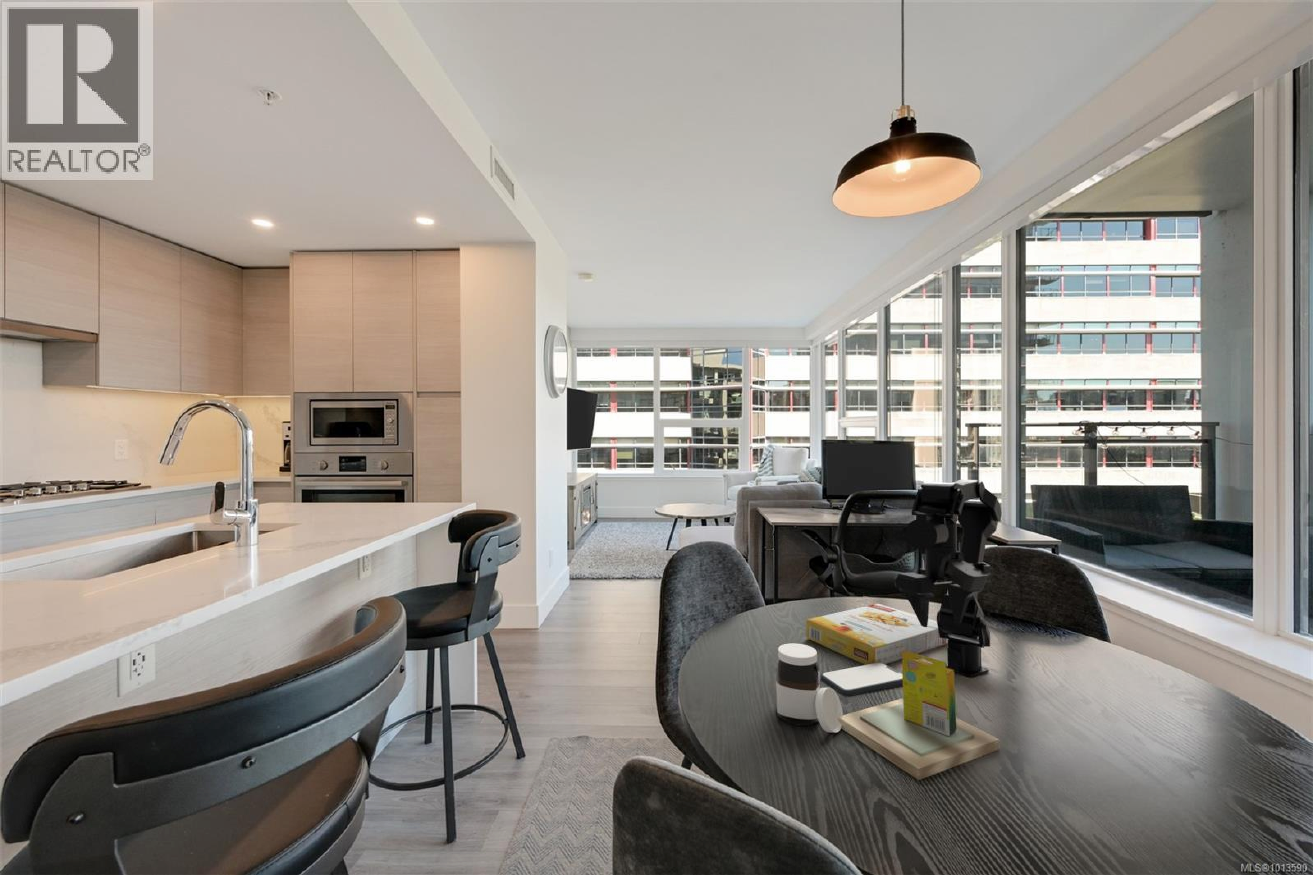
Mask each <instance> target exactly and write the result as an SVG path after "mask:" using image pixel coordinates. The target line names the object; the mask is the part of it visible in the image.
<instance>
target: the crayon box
mask: <svg viewBox="0 0 1313 875" xmlns="http://www.w3.org/2000/svg"><path fill="white" fill-rule="evenodd" d="M922 659H924V660H925V661H924V660H922ZM901 660H902V661H901V664H902V665H901V668H902V669H901V673H902V675H903V685H902V696H903V704H904V719H905V720H907V721H911V722H914V723H916V724H919V725H921V726H924V727H926V728H929V729H932V730H934V731H937V732H939V733H942V734H944V735H945V736H948V737H949V736H950V735H952V734H953V733H954V732H955V731H956V718H957V715H956V714H957V712H956V687H955V686H956V685H955V683H956V682H955V671H954V670H952V669H948V668H946V662H947V661H943V660H939V659H936V658H932V657H929V656H926V655H922V654H919V653H917V654H916V653H912V652H908V651H905V650H902V659H901Z"/></svg>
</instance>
